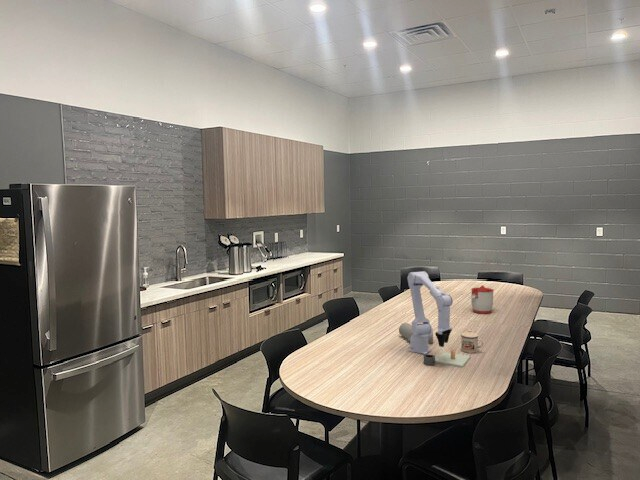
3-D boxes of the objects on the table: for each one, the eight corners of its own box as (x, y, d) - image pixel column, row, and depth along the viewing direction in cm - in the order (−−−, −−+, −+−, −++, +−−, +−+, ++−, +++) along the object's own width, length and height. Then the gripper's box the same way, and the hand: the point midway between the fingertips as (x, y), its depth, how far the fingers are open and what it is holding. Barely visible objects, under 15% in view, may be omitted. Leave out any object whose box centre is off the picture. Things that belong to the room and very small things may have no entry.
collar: (422, 364, 241) (422, 356, 241) (425, 361, 246) (425, 353, 245) (433, 366, 238) (433, 358, 238) (436, 363, 243) (436, 355, 242)
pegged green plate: (434, 362, 243) (435, 352, 243) (444, 353, 257) (444, 343, 257) (462, 367, 236) (462, 356, 236) (470, 358, 250) (470, 347, 249)
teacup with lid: (458, 351, 260) (459, 331, 259) (462, 347, 268) (463, 327, 267) (481, 355, 254) (482, 334, 253) (484, 350, 262) (485, 329, 261)
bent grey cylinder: (397, 341, 275) (433, 343, 271) (398, 323, 276) (433, 325, 272) (399, 339, 292) (432, 341, 288) (399, 322, 294) (432, 323, 289)
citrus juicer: (464, 311, 350) (464, 284, 348) (482, 308, 357) (482, 282, 355) (479, 316, 336) (480, 288, 334) (497, 313, 343) (498, 286, 341)
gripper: (448, 322, 233) (447, 349, 234) (455, 316, 246) (454, 341, 247) (433, 321, 237) (433, 347, 238) (441, 314, 249) (441, 339, 250)
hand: (443, 344), depth 243 cm, fingers open, 7 cm apart
